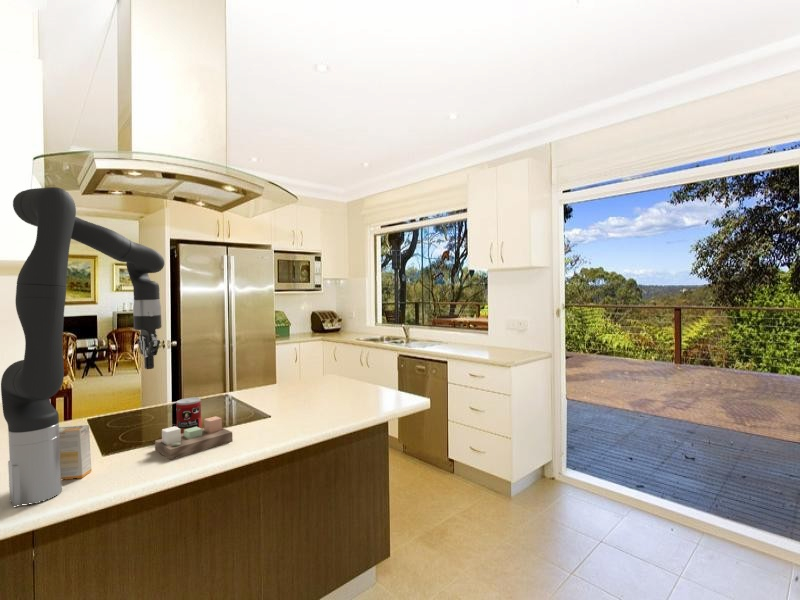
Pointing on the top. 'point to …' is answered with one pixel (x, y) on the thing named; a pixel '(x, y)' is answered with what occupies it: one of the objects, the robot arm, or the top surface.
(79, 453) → the supplement box
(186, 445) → the button box
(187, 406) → the canned food
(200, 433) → the sage green button
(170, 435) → the off-white button
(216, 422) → the pink cube
